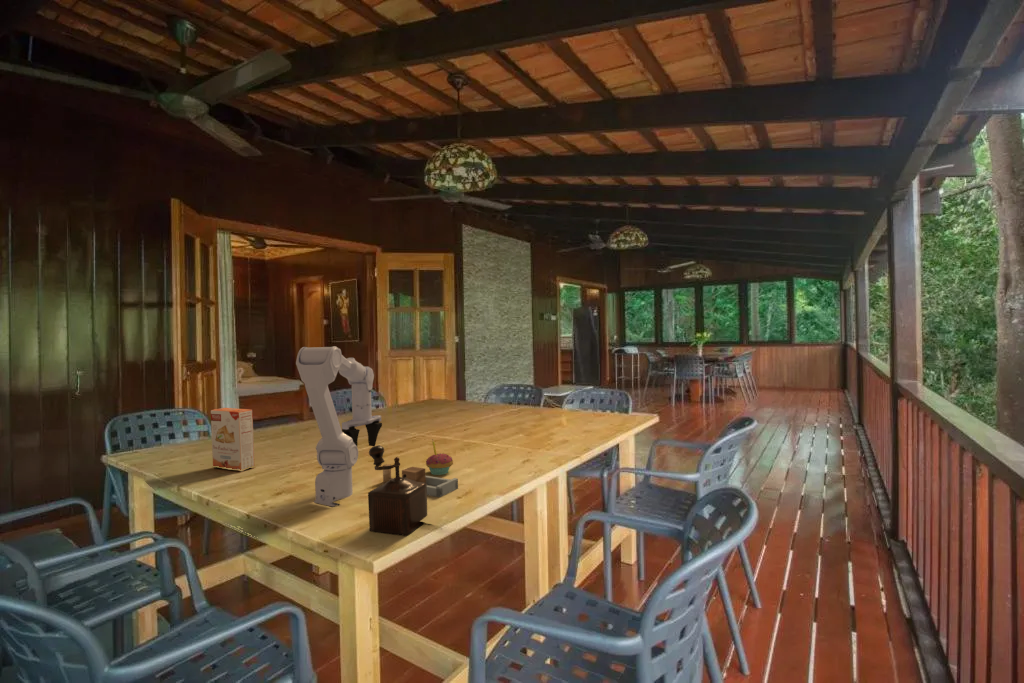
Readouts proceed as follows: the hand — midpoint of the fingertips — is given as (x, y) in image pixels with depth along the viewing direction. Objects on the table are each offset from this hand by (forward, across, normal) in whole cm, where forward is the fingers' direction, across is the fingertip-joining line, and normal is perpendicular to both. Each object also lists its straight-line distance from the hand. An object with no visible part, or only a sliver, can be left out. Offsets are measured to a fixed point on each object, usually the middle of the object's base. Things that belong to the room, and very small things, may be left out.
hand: (363, 448), depth 155 cm
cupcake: (+11, +15, -18) cm, 26 cm away
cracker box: (+11, -9, +54) cm, 56 cm away
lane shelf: (+10, 0, -24) cm, 26 cm away
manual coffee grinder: (+11, -22, -32) cm, 40 cm away
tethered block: (+9, 0, -16) cm, 18 cm away
